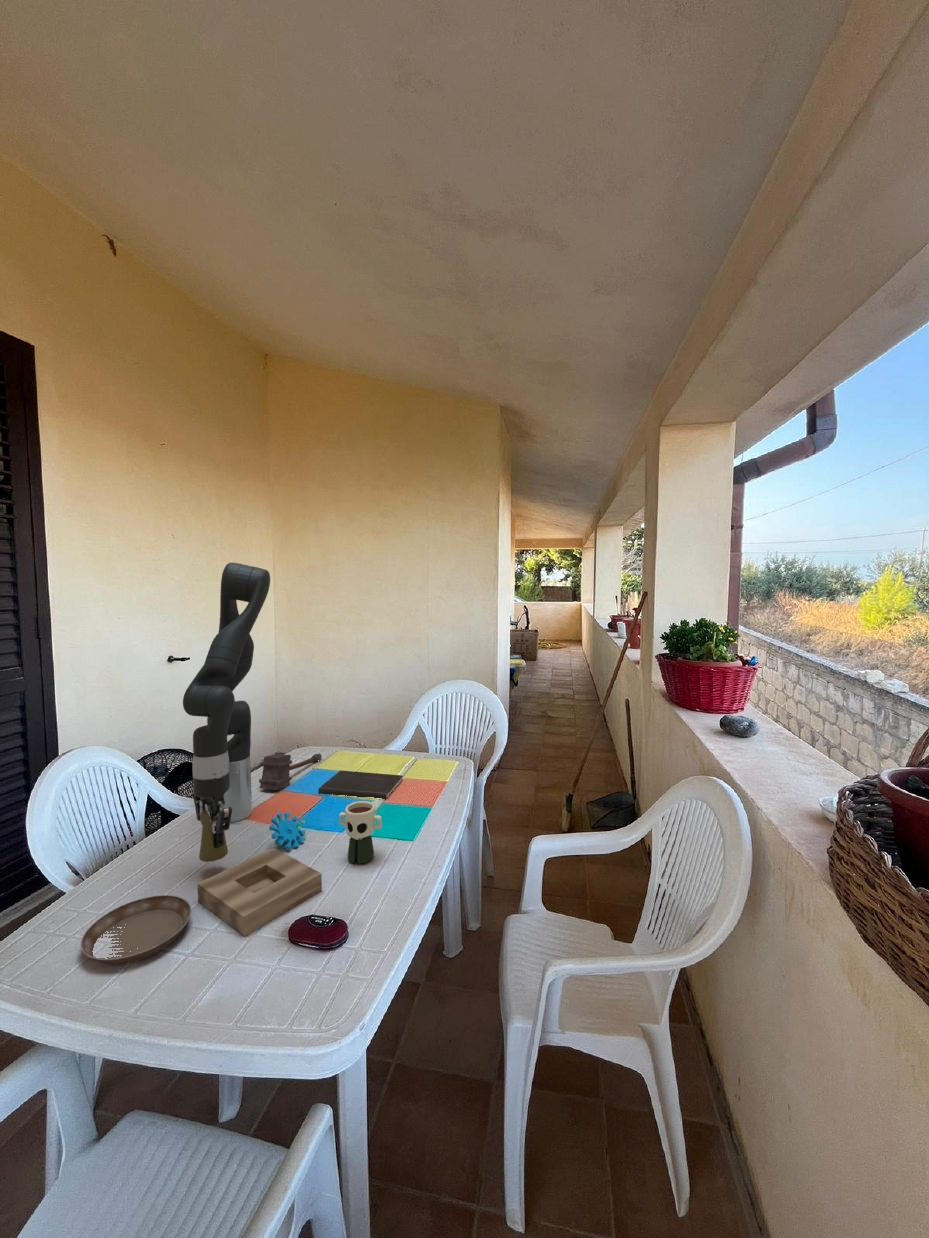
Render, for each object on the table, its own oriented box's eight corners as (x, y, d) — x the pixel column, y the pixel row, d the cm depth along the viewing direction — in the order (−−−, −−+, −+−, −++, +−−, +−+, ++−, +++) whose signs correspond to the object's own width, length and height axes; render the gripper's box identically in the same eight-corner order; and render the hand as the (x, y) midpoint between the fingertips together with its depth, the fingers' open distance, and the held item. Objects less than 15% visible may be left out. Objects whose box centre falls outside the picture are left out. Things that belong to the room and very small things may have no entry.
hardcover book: (340, 776, 179) (340, 770, 178) (402, 781, 174) (402, 775, 174) (318, 795, 163) (318, 788, 163) (386, 801, 158) (386, 794, 158)
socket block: (198, 901, 108) (197, 883, 108) (274, 863, 122) (273, 847, 122) (244, 936, 97) (243, 916, 97) (321, 890, 112) (321, 873, 111)
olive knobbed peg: (206, 847, 121) (204, 803, 120) (232, 847, 121) (231, 802, 121) (194, 861, 115) (192, 815, 114) (221, 861, 115) (220, 814, 114)
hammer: (257, 788, 164) (260, 756, 165) (310, 771, 195) (313, 745, 196) (276, 790, 162) (279, 758, 163) (326, 773, 193) (329, 746, 195)
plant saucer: (143, 980, 87) (142, 963, 87) (55, 966, 90) (54, 950, 90) (211, 914, 104) (211, 899, 104) (136, 904, 107) (135, 890, 107)
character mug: (333, 864, 122) (332, 811, 121) (346, 848, 129) (345, 799, 128) (376, 869, 120) (376, 815, 119) (387, 853, 127) (386, 802, 126)
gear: (283, 851, 125) (265, 816, 128) (270, 865, 126) (252, 829, 130) (316, 837, 134) (298, 805, 138) (303, 850, 136) (285, 817, 140)
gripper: (180, 768, 118) (182, 839, 119) (209, 784, 109) (212, 861, 111) (212, 759, 124) (214, 827, 125) (243, 774, 115) (245, 846, 117)
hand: (213, 842), depth 118 cm, fingers closed on olive knobbed peg, 4 cm apart
